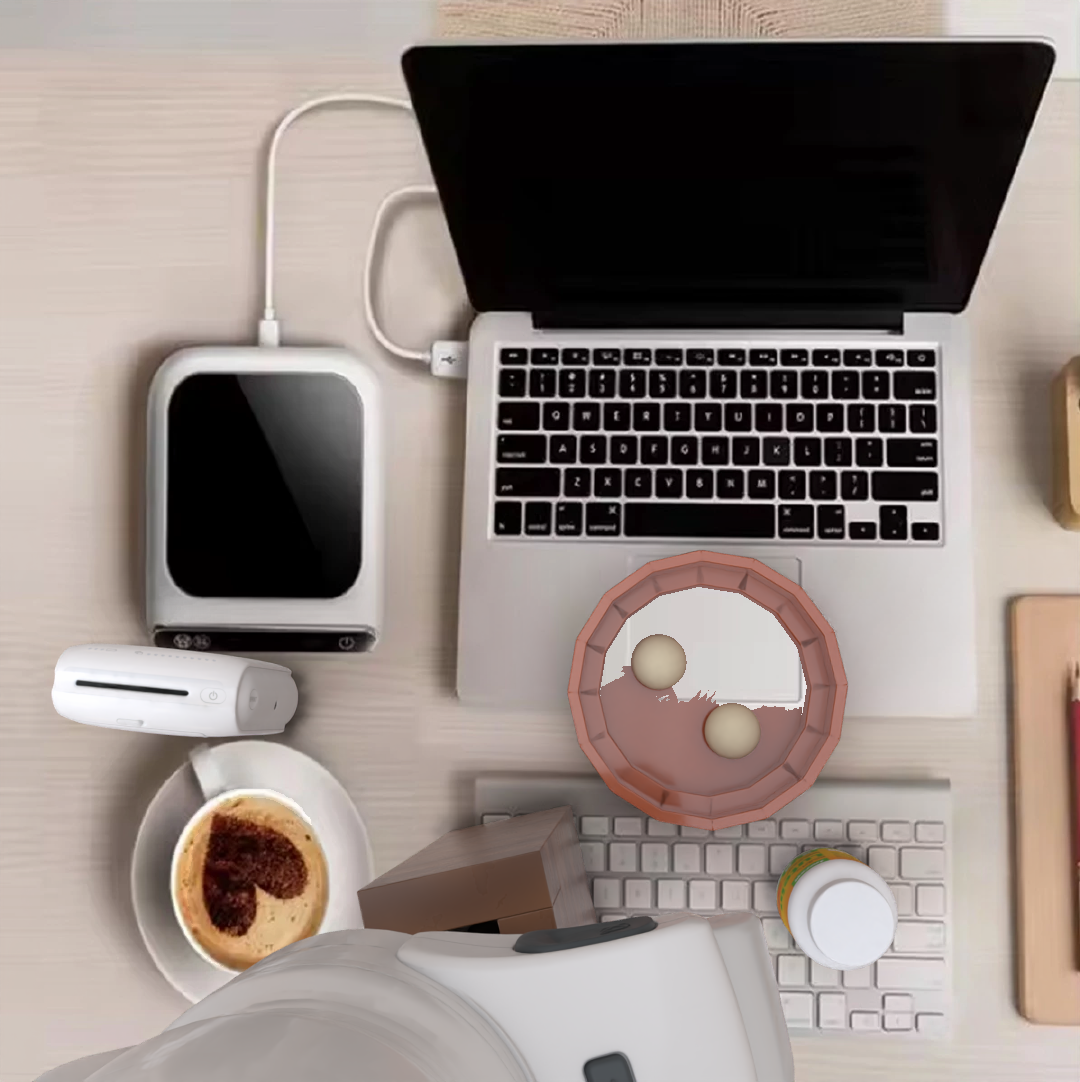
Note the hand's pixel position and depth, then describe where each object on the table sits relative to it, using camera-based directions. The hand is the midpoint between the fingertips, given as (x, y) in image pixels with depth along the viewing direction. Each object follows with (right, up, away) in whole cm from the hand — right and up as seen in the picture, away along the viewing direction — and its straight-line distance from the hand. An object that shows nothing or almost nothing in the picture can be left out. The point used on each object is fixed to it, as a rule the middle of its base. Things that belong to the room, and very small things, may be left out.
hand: (439, 1012), depth 43 cm
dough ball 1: (+10, +8, +33) cm, 35 cm away
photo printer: (-15, +6, +36) cm, 40 cm away
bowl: (+12, +6, +34) cm, 37 cm away
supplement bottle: (+19, -5, +33) cm, 38 cm away
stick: (+1, -2, +14) cm, 14 cm away
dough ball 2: (+14, +4, +32) cm, 35 cm away
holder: (+2, -4, +34) cm, 34 cm away
